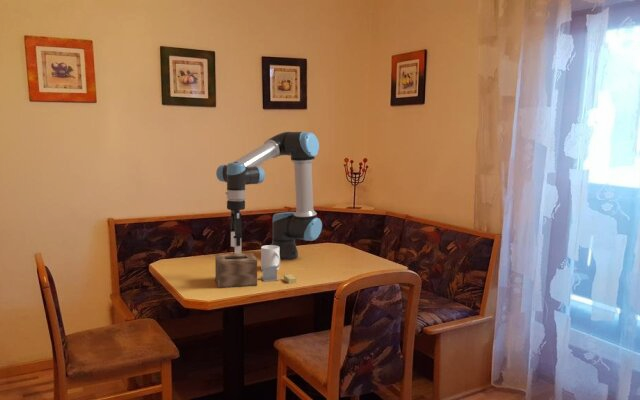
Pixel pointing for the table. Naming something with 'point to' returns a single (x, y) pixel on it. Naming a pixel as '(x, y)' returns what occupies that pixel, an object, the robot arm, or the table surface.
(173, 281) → the table surface
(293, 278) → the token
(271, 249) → the white rounded piece
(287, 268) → the table surface
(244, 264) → the coin box
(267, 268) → the stand
